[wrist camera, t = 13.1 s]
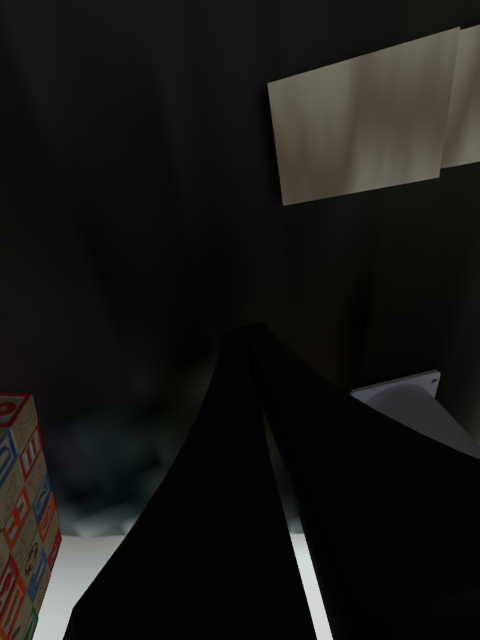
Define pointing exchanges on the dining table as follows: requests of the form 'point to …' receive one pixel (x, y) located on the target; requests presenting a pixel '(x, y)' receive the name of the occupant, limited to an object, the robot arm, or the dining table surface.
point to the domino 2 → (464, 103)
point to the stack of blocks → (24, 519)
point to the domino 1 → (364, 120)
